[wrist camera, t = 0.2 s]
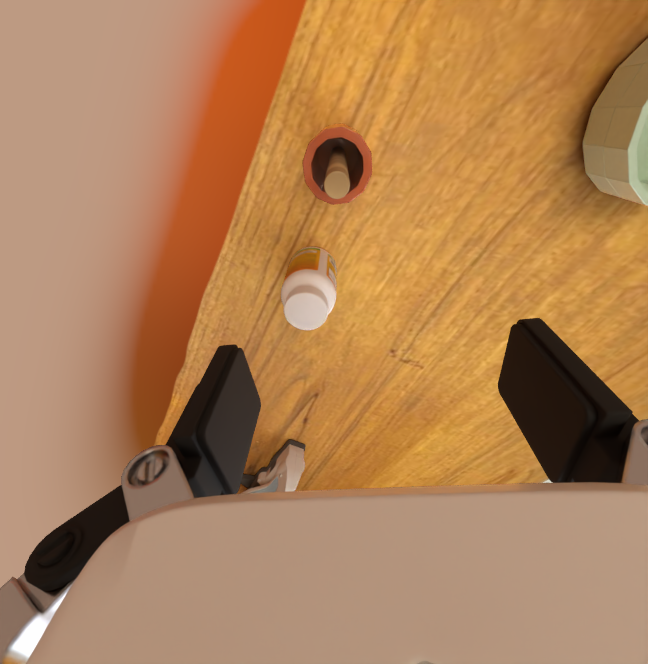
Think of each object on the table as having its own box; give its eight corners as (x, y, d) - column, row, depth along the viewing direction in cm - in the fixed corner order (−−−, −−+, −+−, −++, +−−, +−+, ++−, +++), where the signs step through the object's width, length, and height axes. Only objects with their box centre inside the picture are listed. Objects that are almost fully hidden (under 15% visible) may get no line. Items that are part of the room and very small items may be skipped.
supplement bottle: (281, 275, 37) (265, 320, 29) (303, 236, 34) (292, 273, 26) (321, 297, 38) (316, 345, 30) (345, 261, 36) (347, 304, 28)
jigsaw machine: (253, 492, 44) (325, 514, 47) (267, 429, 53) (327, 451, 56) (211, 545, 54) (272, 560, 57) (229, 485, 63) (281, 501, 66)
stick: (329, 147, 29) (322, 172, 17) (344, 145, 29) (348, 169, 16) (331, 164, 30) (325, 200, 17) (346, 162, 30) (351, 197, 17)
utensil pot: (308, 127, 29) (297, 133, 21) (361, 119, 28) (370, 122, 21) (316, 185, 31) (308, 207, 24) (365, 178, 31) (373, 199, 23)
